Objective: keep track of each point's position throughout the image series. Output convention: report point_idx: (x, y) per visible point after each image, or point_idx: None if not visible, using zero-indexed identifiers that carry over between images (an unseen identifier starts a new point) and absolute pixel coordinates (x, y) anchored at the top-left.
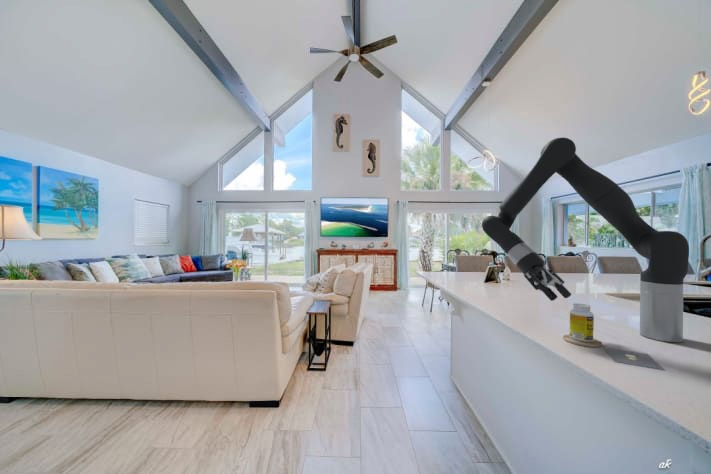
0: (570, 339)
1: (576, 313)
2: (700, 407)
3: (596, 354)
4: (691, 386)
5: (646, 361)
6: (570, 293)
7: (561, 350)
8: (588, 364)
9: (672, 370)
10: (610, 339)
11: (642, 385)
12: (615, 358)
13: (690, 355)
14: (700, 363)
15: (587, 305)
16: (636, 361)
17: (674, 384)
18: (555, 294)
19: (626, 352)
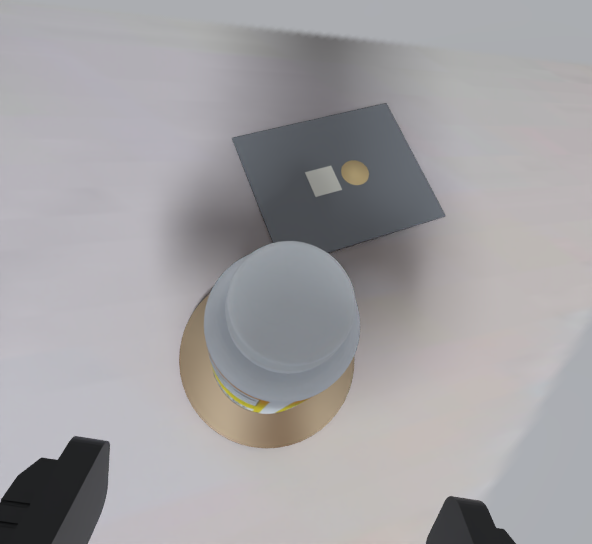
0: (322, 396)
1: (358, 338)
2: (586, 68)
3: (416, 273)
4: (463, 68)
5: (343, 141)
6: (80, 444)
7: (501, 388)
8: (560, 274)
9: (363, 90)
10: (89, 262)
11: (577, 149)
12: (407, 216)
13: (108, 37)
14: (198, 27)
15: (277, 260)
16: (375, 163)
17: (489, 94)
18: (478, 524)
19: (285, 193)
